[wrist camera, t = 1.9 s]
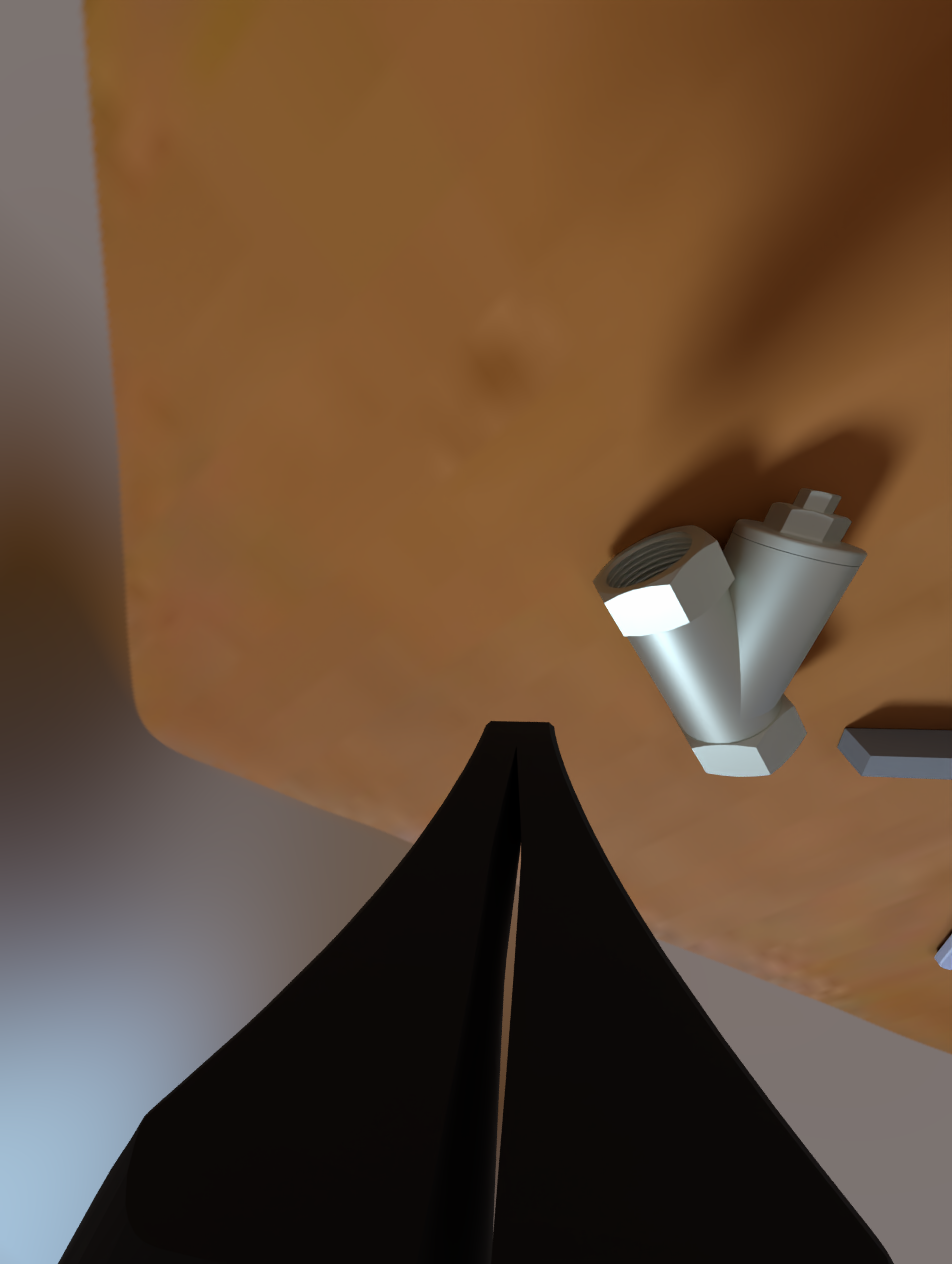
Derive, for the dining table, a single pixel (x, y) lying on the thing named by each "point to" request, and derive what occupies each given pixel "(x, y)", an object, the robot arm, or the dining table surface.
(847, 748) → the grey-green knobbed block
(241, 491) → the dining table surface
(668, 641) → the pipe fitting
